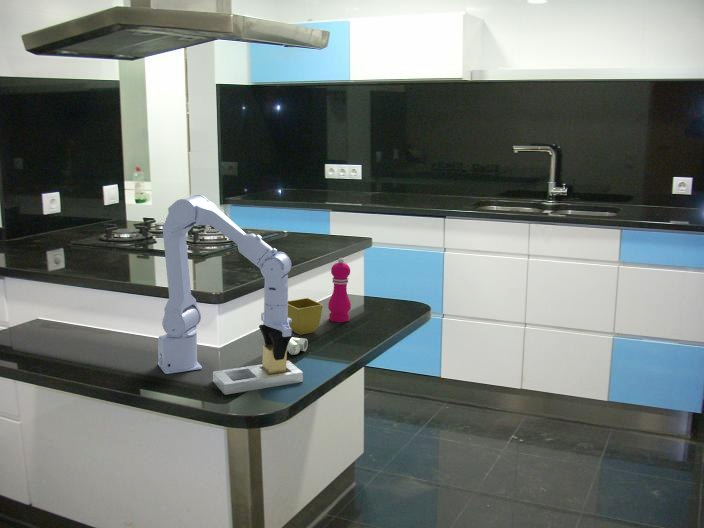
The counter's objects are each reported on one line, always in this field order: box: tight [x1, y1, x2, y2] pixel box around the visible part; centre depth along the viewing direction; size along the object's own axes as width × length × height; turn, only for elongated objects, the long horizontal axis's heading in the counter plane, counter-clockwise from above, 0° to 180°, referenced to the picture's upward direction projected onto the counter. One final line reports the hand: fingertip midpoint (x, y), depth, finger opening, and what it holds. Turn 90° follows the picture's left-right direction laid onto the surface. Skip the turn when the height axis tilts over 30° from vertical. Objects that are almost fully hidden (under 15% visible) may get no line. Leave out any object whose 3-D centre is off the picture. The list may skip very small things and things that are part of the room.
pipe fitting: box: [287, 337, 309, 356], centre depth 201 cm, size 8×4×7 cm
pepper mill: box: [327, 257, 352, 323], centre depth 229 cm, size 7×7×20 cm
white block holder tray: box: [212, 360, 304, 395], centre depth 178 cm, size 20×9×2 cm, turn 118°
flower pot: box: [288, 297, 324, 336], centre depth 216 cm, size 9×9×9 cm
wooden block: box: [261, 344, 288, 375], centre depth 179 cm, size 4×4×6 cm
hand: (275, 356), depth 179 cm, fingers closed on wooden block, 4 cm apart
